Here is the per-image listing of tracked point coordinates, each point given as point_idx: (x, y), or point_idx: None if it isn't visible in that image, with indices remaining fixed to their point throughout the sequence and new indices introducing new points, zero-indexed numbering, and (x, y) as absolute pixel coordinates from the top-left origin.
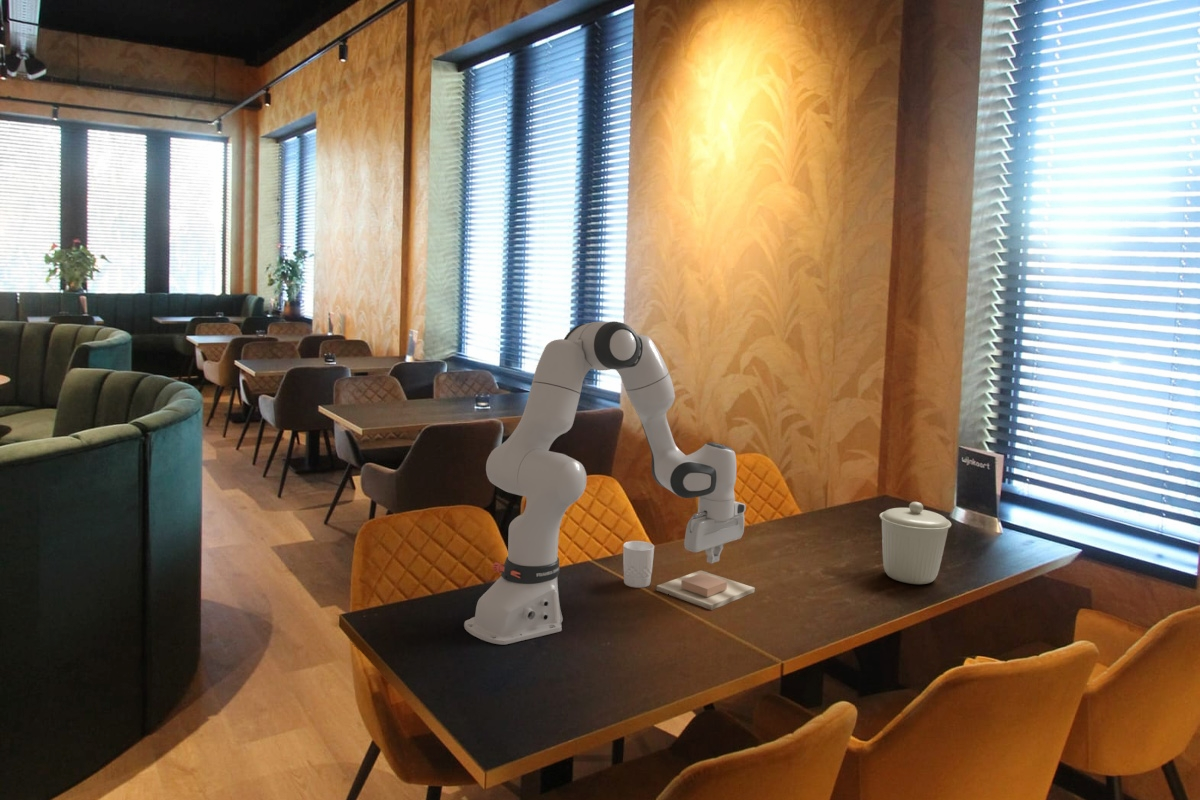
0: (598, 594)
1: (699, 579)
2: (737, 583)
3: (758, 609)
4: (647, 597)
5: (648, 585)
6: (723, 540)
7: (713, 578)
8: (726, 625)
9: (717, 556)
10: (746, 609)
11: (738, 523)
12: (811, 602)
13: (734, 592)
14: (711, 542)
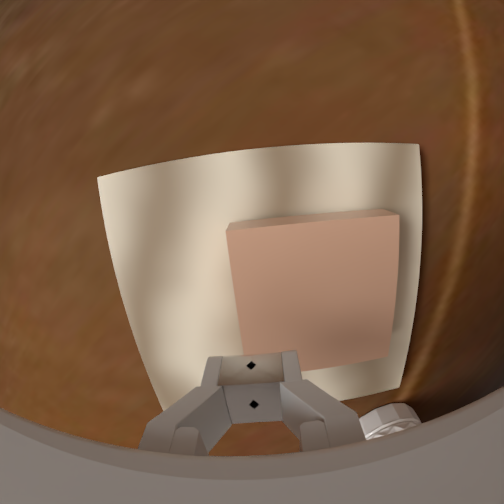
0: (479, 394)
1: (323, 329)
2: (123, 255)
3: (241, 36)
4: (450, 345)
5: (380, 407)
6: (161, 487)
7: (253, 304)
8: (443, 45)
9: (231, 379)
10: (285, 60)
11: None
12: (49, 31)
13: (216, 181)
14: (454, 466)
